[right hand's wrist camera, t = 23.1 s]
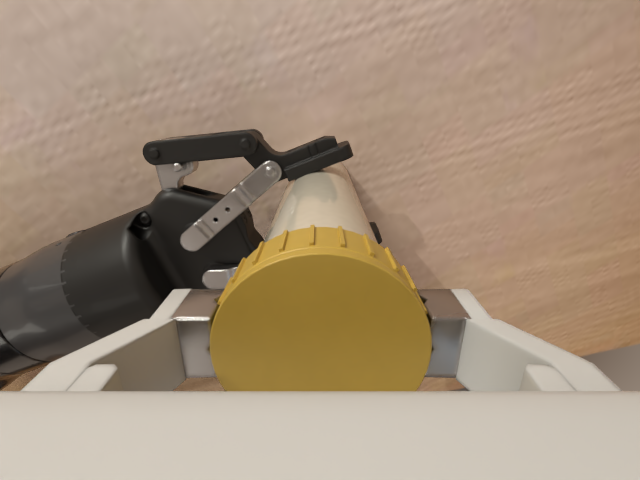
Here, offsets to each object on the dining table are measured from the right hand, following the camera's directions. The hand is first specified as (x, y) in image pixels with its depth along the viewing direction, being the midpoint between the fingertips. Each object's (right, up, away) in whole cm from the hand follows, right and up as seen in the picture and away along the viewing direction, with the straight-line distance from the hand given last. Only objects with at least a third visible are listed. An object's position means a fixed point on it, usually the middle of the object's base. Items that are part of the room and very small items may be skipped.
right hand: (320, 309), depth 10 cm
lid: (0, -1, -2) cm, 2 cm away
